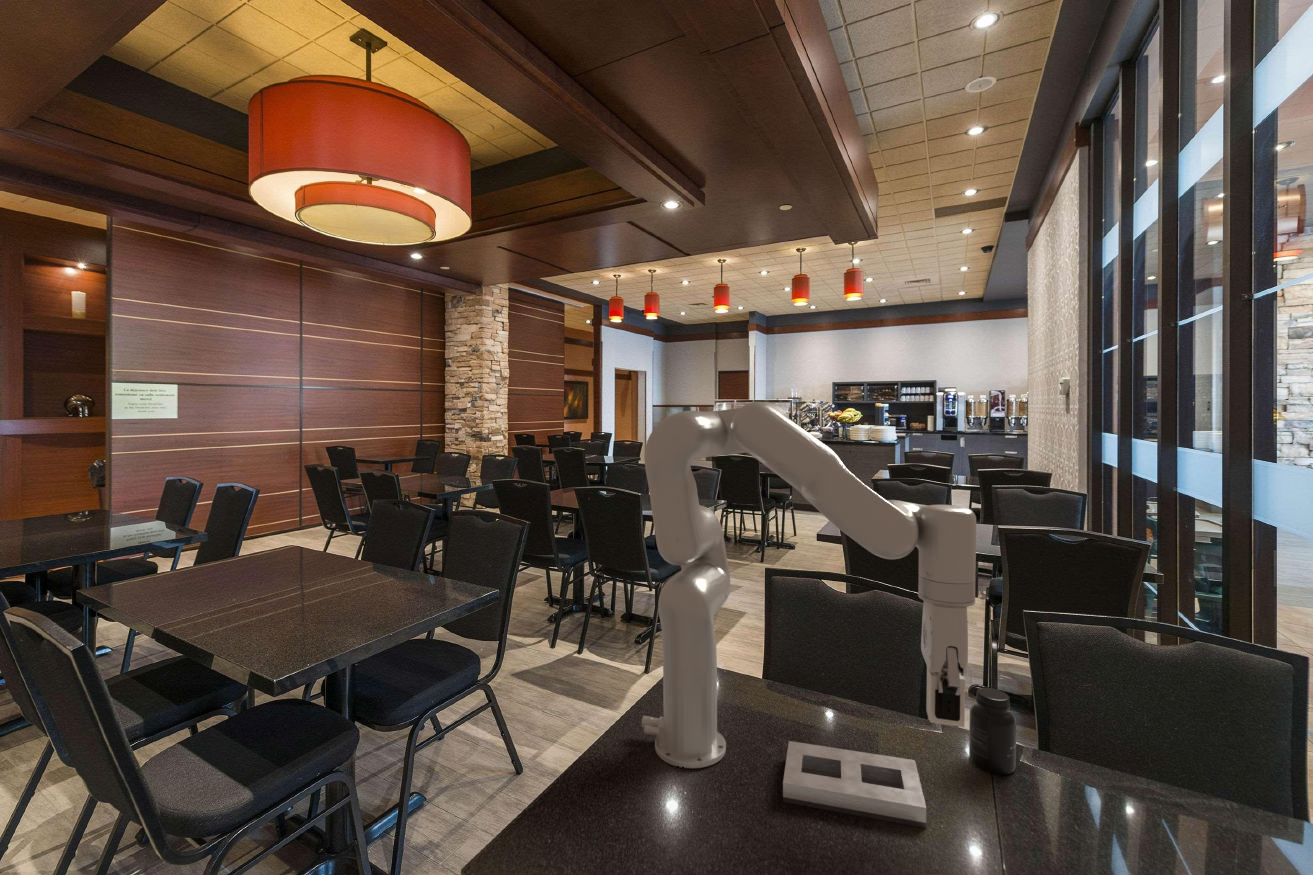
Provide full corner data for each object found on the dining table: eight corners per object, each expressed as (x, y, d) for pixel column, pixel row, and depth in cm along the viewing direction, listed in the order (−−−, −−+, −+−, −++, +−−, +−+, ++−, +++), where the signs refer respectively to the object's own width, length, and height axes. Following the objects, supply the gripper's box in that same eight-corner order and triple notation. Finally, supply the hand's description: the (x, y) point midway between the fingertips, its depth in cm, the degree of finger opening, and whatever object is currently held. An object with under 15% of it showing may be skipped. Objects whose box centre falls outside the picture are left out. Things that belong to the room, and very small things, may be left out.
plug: (930, 722, 84) (931, 675, 84) (926, 710, 88) (927, 665, 88) (964, 727, 83) (965, 679, 83) (959, 714, 87) (959, 669, 86)
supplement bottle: (1023, 778, 93) (1023, 705, 93) (977, 773, 94) (977, 701, 94) (1006, 754, 100) (1006, 686, 100) (963, 750, 101) (964, 682, 101)
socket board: (783, 801, 88) (783, 782, 88) (788, 757, 99) (788, 740, 99) (926, 828, 82) (926, 807, 82) (914, 778, 93) (914, 759, 93)
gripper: (911, 573, 94) (910, 683, 94) (927, 604, 78) (925, 736, 79) (962, 576, 92) (960, 690, 92) (989, 609, 76) (987, 745, 76)
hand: (944, 710), depth 85 cm, fingers closed on plug, 3 cm apart
